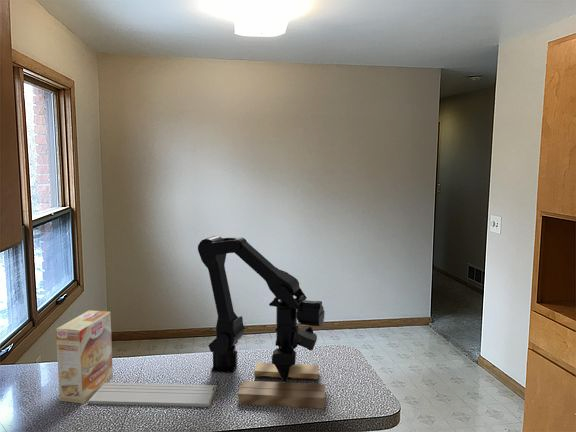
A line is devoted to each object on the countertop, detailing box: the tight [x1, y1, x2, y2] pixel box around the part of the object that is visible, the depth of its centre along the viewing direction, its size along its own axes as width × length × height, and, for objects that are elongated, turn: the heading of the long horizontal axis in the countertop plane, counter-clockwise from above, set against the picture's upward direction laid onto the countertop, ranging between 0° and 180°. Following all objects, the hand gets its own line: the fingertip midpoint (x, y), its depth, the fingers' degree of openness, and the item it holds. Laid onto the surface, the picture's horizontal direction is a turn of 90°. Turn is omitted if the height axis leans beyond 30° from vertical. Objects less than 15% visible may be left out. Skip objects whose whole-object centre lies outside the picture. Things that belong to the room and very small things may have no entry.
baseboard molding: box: [87, 381, 219, 408], centre depth 124 cm, size 31×3×12 cm
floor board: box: [237, 380, 326, 409], centre depth 122 cm, size 22×8×3 cm, turn 85°
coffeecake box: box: [55, 309, 114, 404], centre depth 125 cm, size 15×7×20 cm, turn 171°
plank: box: [253, 361, 319, 380], centre depth 134 cm, size 18×6×3 cm, turn 85°
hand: (286, 374), depth 133 cm, fingers open, 8 cm apart
